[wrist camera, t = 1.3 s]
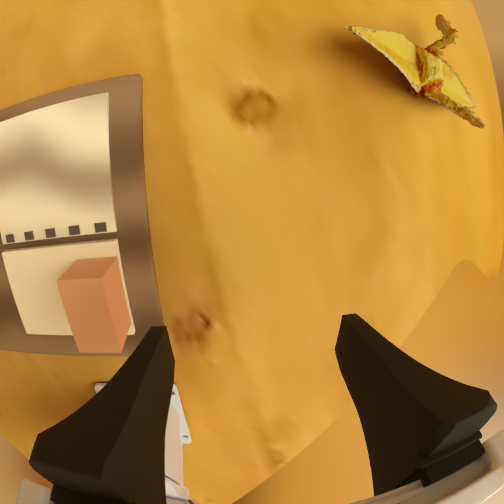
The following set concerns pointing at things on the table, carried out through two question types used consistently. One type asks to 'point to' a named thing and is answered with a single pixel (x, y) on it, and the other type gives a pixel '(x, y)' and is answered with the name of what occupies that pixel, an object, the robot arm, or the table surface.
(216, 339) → the table surface
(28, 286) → the stub
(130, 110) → the board
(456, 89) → the origami crane
